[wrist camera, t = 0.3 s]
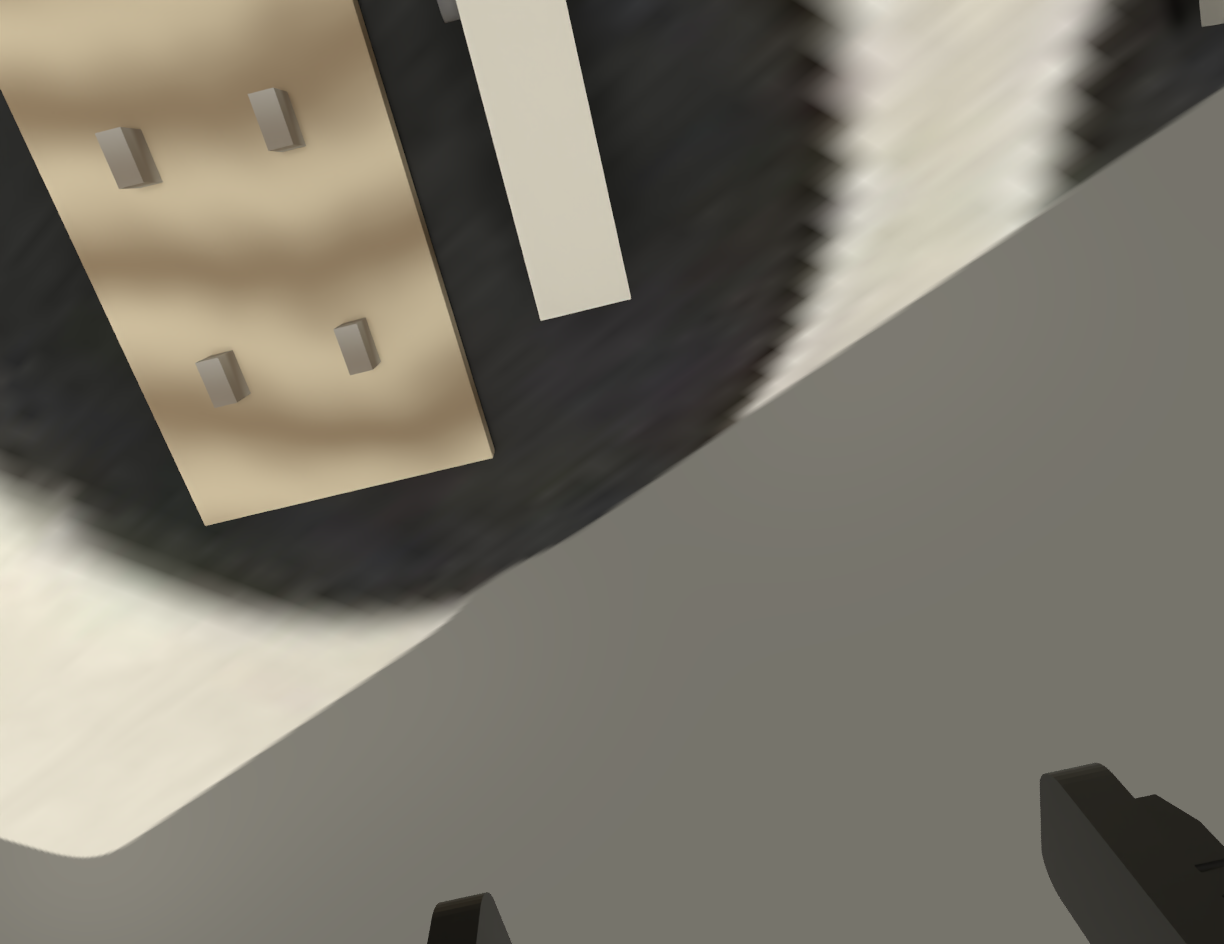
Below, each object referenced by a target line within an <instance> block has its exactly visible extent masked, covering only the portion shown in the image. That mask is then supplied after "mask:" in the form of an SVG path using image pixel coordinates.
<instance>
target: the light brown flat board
mask: <svg viewBox="0 0 1224 944" xmlns="http://www.w3.org/2000/svg"><path fill="white" fill-rule="evenodd" d="M0 89H1V91H2V93H3V95H4V97H5V99H6V101H7V104H8V106H9V108H10V110H11V112H12V114H13V116H14V119H15V121H16V123H17V125H18V127H19V129H20V131H21V133H22V136H23V138H24V140H25V142H26V144H27V146H28V148H29V151H30V153H31V155H32V157H33V159H34V161H35V163H36V166H37V168H38V170H39V172H40V174H41V176H42V178H43V180H44V183H45V185H46V187H47V189H48V191H49V193H50V195H51V198H52V200H53V202H54V204H55V206H56V208H57V210H58V213H59V215H60V217H61V219H62V221H63V223H64V225H65V227H66V230H67V232H68V234H69V236H70V238H71V240H72V242H73V245H74V247H75V249H76V251H77V253H78V255H79V257H80V259H81V262H82V264H83V266H84V268H85V270H86V272H87V274H88V277H89V279H90V281H91V283H92V285H93V287H94V289H95V292H96V294H97V296H98V298H99V300H100V302H101V304H102V306H103V309H104V311H105V313H106V315H107V317H108V319H109V321H110V324H111V326H112V328H113V330H114V332H115V334H116V336H117V339H118V341H119V343H120V345H121V347H122V349H123V351H124V353H125V356H126V358H127V360H128V362H129V364H130V366H131V368H132V371H133V373H134V375H135V377H136V379H137V381H138V383H139V385H140V388H141V390H142V392H143V394H144V396H145V398H146V400H147V403H148V405H149V407H150V409H151V411H152V413H153V415H154V418H155V420H156V422H157V424H158V426H159V428H160V430H161V432H162V435H163V437H164V439H165V441H166V443H167V445H168V447H169V450H170V452H171V454H172V456H173V458H174V460H175V462H176V464H177V467H178V469H179V471H180V473H181V475H182V477H183V479H184V482H185V484H186V486H187V488H188V490H189V492H190V494H191V497H192V499H193V501H194V503H195V505H196V507H197V509H198V511H199V514H200V516H201V518H202V520H203V522H204V524H205V526H207V525H211V524H215V523H219V522H224V521H228V520H232V519H236V518H241V517H245V516H249V515H253V514H258V513H262V512H266V511H270V510H274V509H279V508H283V507H287V506H291V505H296V504H300V503H304V502H308V501H313V500H317V499H321V498H325V497H329V496H334V495H338V494H342V493H346V492H351V491H355V490H359V489H363V488H368V487H372V486H376V485H380V484H384V483H389V482H393V481H397V480H401V479H406V478H410V477H414V476H418V475H423V474H427V473H431V472H435V471H439V470H444V469H448V468H452V467H456V466H461V465H465V464H469V463H473V462H478V461H482V460H486V459H490V458H493V456H494V452H495V449H494V446H493V443H492V440H491V436H490V433H489V430H488V426H487V423H486V420H485V417H484V413H483V410H482V407H481V403H480V400H479V397H478V394H477V390H476V387H475V384H474V381H473V377H472V374H471V371H470V367H469V364H468V361H467V358H466V354H465V351H464V348H463V344H462V341H461V338H460V335H459V331H458V328H457V325H456V322H455V318H454V315H453V312H452V308H451V305H450V302H449V299H448V295H447V292H446V289H445V285H444V282H443V279H442V276H441V272H440V269H439V266H438V263H437V259H436V256H435V253H434V249H433V246H432V243H431V240H430V236H429V233H428V230H427V226H426V223H425V220H424V217H423V213H422V210H421V207H420V204H419V200H418V197H417V194H416V190H415V187H414V184H413V181H412V177H411V174H410V171H409V167H408V164H407V161H406V158H405V154H404V151H403V148H402V145H401V141H400V138H399V135H398V131H397V128H396V125H395V122H394V118H393V115H392V112H391V108H390V105H389V102H388V99H387V95H386V92H385V89H384V86H383V82H382V79H381V76H380V72H379V69H378V66H377V63H376V59H375V56H374V53H373V49H372V46H371V43H370V40H369V36H368V33H367V30H366V26H365V23H364V20H363V17H362V13H361V10H360V7H359V4H358V0H0Z"/></svg>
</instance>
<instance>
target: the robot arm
mask: <svg viewBox="0 0 1224 944" xmlns="http://www.w3.org/2000/svg"><path fill="white" fill-rule="evenodd" d="M1040 807H1041V843H1042V855H1043V859H1044V863H1045V866H1046V869H1047V872H1048V875H1049V877H1050V880H1051V882H1052V884H1053V886H1054V888H1055V890H1056V892H1057V894H1058V895H1059V897H1060V899H1061V900H1062V902H1063V903H1064V905H1065V906H1066V908H1067V909H1068V911H1069V912H1070V914H1071V915H1072V917H1073V918H1074V920H1075V921H1076V923H1077V924H1078V926H1079V927H1080V929H1081V930H1082V932H1083V933H1084V934H1085V936H1086V938H1087V939H1088V941H1089V942H1090V944H1224V846H1223V845H1222V844H1221V843H1220V842H1219V841H1218V840H1217V839H1216V838H1215V837H1214V836H1213V835H1212V834H1211V833H1210V832H1209V831H1208V829H1207V828H1205V826H1204V825H1203V824H1202V823H1201V822H1200V821H1198V820H1197V819H1195V818H1193V817H1192V816H1190V815H1189V814H1187V813H1185V812H1184V811H1182V810H1180V809H1179V808H1177V807H1175V806H1174V805H1172V804H1170V803H1169V802H1167V801H1165V800H1164V799H1162V798H1161V797H1159V796H1157V795H1150V796H1145V797H1140V798H1136V799H1135V798H1134V797H1133V796H1132V795H1131V794H1130V793H1129V792H1128V790H1126V788H1125V787H1124V786H1123V785H1122V784H1121V783H1120V781H1119V780H1118V779H1117V778H1116V777H1115V776H1114V775H1113V774H1112V773H1111V772H1110V771H1109V770H1108V769H1107V768H1106V767H1105V766H1103V765H1101V764H1099V763H1093V764H1088V765H1083V766H1079V767H1074V768H1069V769H1064V770H1060V771H1055V772H1051V773H1046V774H1043V775H1042V776H1041V779H1040ZM427 944H512V943H511V941H510V938H509V936H508V933H507V931H506V928H505V926H504V924H503V921H502V919H501V916H500V914H499V911H498V909H497V906H496V904H495V901H494V899H493V897H492V896H491V894H490V893H487V892H486V893H482V894H477V895H473V896H468V897H464V898H459V899H454V900H449V901H445V902H440V903H438V904H437V905H436V907H435V909H434V912H433V915H432V920H431V926H430V931H429V937H428V942H427Z"/></svg>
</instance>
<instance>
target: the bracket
mask: <svg viewBox="0 0 1224 944" xmlns="http://www.w3.org/2000/svg"><path fill="white" fill-rule="evenodd" d="M1199 5H1200V15H1201V25H1202V27H1204V26H1210V25H1216V24H1222V23H1224V0H1199Z"/></svg>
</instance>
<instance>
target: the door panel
mask: <svg viewBox="0 0 1224 944" xmlns="http://www.w3.org/2000/svg"><path fill="white" fill-rule="evenodd" d="M437 2H438V5H439V9H440V12H441V14H442V17H443V20H444V22H445V23H447V22H451V21H455V20H458V19H461V22H462V26H463V30H464V34H465V37H466V41H467V45H468V49H469V52H470V56H471V60H472V64H473V68H474V71H475V75H476V79H477V83H478V86H479V90H480V94H481V98H482V102H483V105H484V109H485V113H486V117H487V120H488V124H489V128H490V132H491V136H492V139H493V143H494V147H495V151H496V154H497V158H498V162H499V166H500V169H501V173H502V177H503V181H504V185H505V188H506V192H507V196H508V200H509V203H510V207H511V211H512V215H513V219H514V222H515V226H516V230H517V234H518V237H519V241H520V245H521V249H522V253H523V256H524V260H525V264H526V268H527V271H528V275H529V279H530V283H531V287H532V290H533V294H534V298H535V302H536V305H537V309H538V313H539V317H540V320H541V321H542V320H547V319H551V318H555V317H559V316H563V315H567V314H571V313H575V312H580V311H584V310H588V309H592V308H596V307H600V306H604V305H608V304H613V303H617V302H621V301H625V300H629V299H631V295H630V291H629V286H628V282H627V277H626V273H625V268H624V264H623V259H622V254H621V250H620V245H619V241H618V236H617V232H616V227H615V223H614V218H613V214H612V209H611V204H610V200H609V195H608V191H607V186H606V182H605V177H604V173H603V168H602V163H601V159H600V154H599V150H598V145H597V141H596V136H595V132H594V127H593V123H592V118H591V113H590V109H589V104H588V100H587V95H586V91H585V86H584V82H583V77H582V72H581V68H580V63H579V59H578V54H577V50H576V45H575V41H574V36H573V32H572V27H571V22H570V18H569V13H568V9H567V4H566V0H437Z"/></svg>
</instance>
